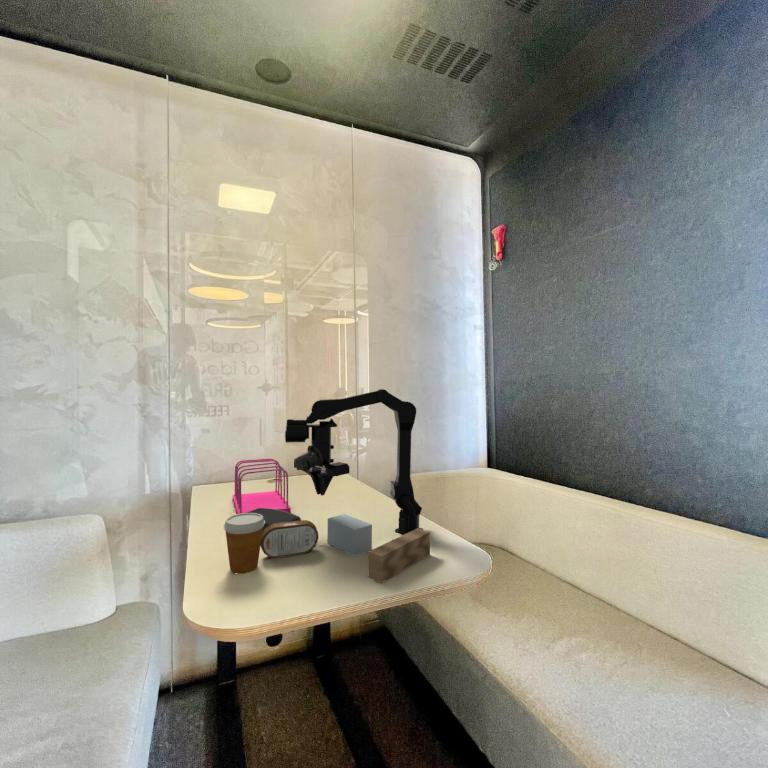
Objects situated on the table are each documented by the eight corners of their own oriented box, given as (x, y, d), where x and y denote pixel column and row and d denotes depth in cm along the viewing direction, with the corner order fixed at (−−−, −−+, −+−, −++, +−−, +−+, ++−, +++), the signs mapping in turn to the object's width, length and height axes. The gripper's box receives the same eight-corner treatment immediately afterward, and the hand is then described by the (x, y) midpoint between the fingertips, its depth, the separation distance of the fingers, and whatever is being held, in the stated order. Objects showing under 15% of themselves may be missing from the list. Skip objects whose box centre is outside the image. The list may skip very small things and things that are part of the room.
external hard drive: (260, 517, 135) (260, 505, 135) (305, 527, 125) (305, 514, 125) (229, 529, 123) (229, 515, 123) (275, 541, 114) (275, 527, 114)
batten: (417, 550, 107) (417, 528, 107) (429, 554, 105) (430, 531, 105) (368, 577, 92) (368, 551, 92) (381, 583, 89) (381, 556, 89)
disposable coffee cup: (216, 567, 96) (216, 518, 96) (253, 556, 103) (254, 509, 103) (233, 581, 89) (233, 528, 89) (271, 568, 96) (272, 518, 96)
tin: (316, 548, 108) (317, 517, 108) (319, 552, 105) (319, 520, 105) (259, 556, 103) (259, 524, 103) (260, 561, 100) (260, 528, 100)
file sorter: (237, 519, 131) (238, 472, 131) (232, 499, 154) (232, 459, 154) (290, 512, 138) (291, 467, 138) (278, 494, 161) (278, 456, 161)
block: (344, 537, 116) (344, 513, 116) (371, 550, 107) (372, 524, 108) (327, 543, 112) (327, 518, 112) (354, 556, 103) (355, 529, 103)
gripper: (279, 441, 117) (278, 494, 117) (321, 448, 105) (321, 507, 105) (308, 438, 126) (308, 487, 126) (351, 444, 114) (350, 498, 114)
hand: (320, 494), depth 117 cm, fingers closed
